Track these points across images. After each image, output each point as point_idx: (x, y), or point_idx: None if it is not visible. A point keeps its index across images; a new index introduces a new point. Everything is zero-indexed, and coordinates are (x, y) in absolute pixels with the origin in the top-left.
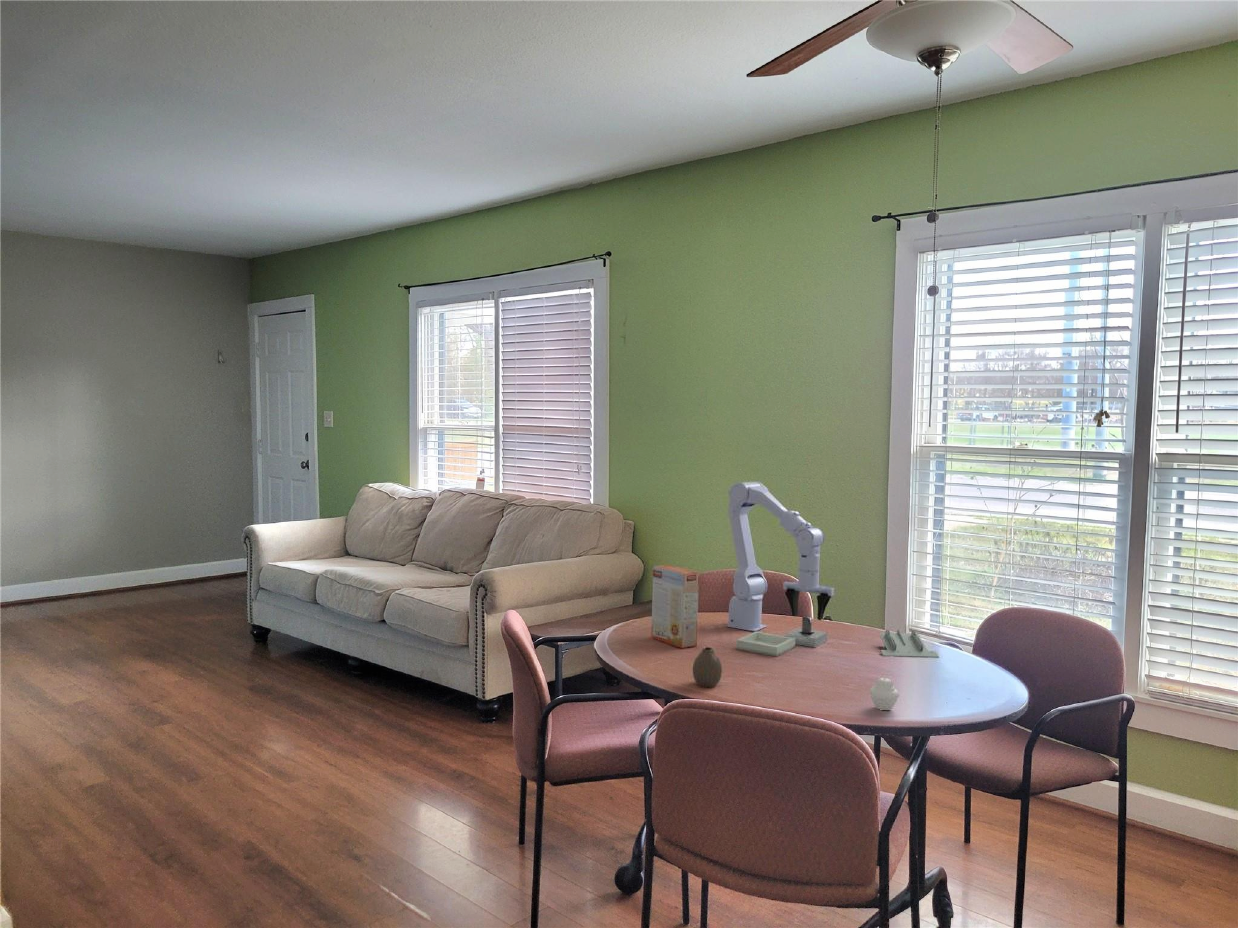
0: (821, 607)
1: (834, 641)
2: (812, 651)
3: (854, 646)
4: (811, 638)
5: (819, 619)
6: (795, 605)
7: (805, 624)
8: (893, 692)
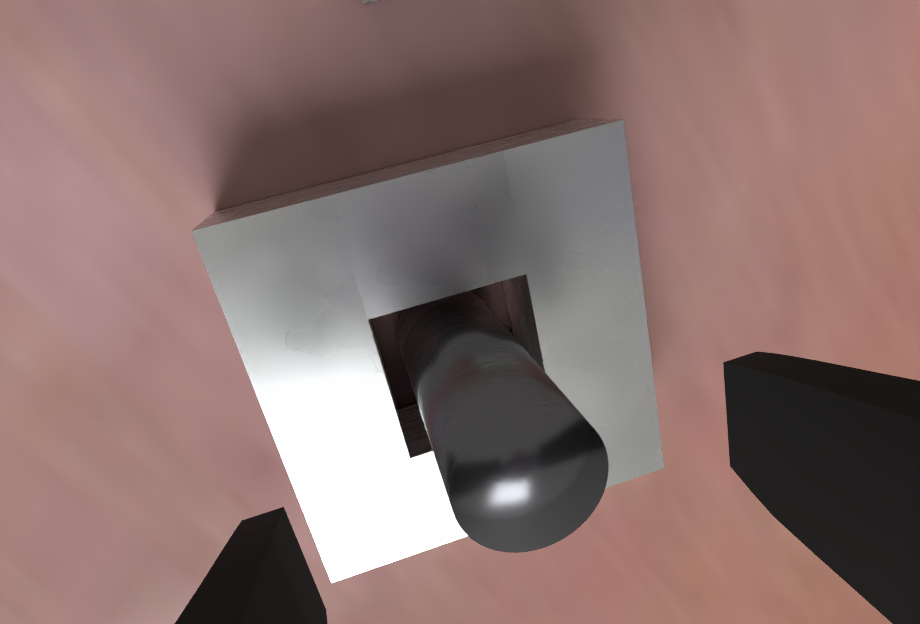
0: None
1: None
2: (87, 16)
3: (14, 598)
4: (253, 214)
5: (243, 524)
6: (897, 521)
7: (478, 367)
8: None
